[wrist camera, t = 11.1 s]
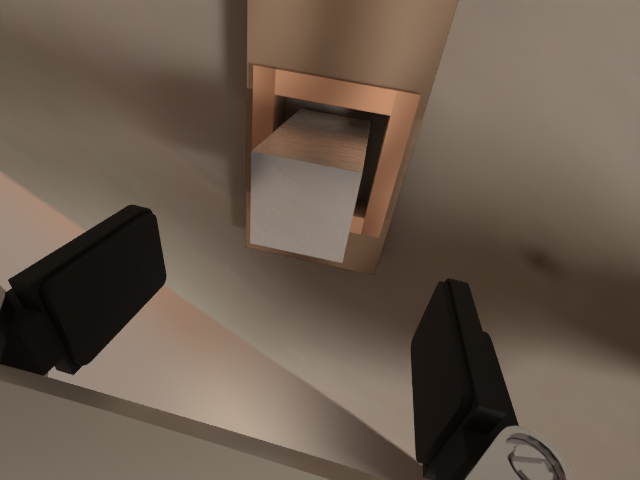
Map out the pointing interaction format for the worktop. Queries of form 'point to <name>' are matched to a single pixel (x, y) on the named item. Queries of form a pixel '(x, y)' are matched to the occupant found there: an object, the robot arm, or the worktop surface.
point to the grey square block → (308, 184)
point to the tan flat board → (347, 88)
